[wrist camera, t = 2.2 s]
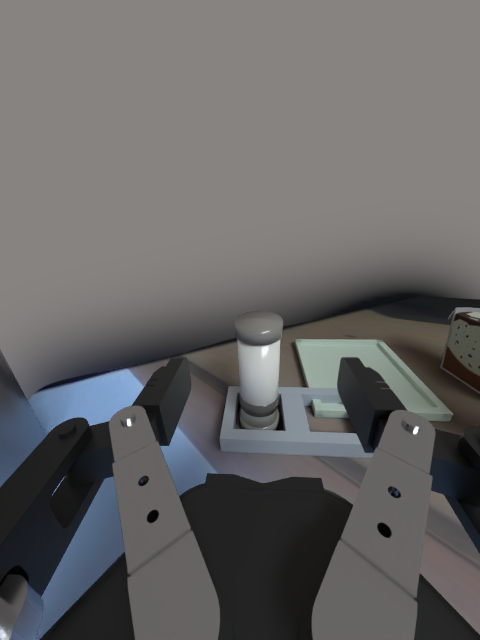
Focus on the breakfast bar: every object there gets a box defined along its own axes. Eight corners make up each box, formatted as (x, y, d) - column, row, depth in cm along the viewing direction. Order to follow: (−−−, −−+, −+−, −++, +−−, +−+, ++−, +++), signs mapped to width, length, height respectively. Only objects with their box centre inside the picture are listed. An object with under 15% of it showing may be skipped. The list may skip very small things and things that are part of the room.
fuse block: (221, 451, 26) (219, 438, 25) (229, 397, 33) (228, 386, 33) (380, 458, 24) (384, 445, 24) (351, 400, 32) (353, 388, 31)
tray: (314, 417, 30) (315, 410, 29) (294, 344, 46) (295, 339, 45) (450, 421, 28) (453, 414, 28) (380, 345, 45) (381, 339, 44)
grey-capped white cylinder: (238, 438, 27) (232, 331, 22) (241, 407, 32) (236, 311, 26) (280, 439, 27) (285, 331, 21) (277, 408, 31) (280, 311, 25)
